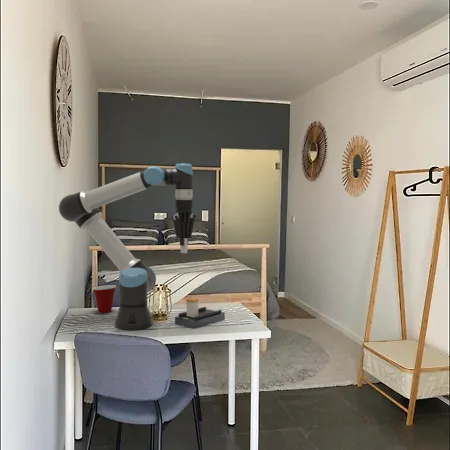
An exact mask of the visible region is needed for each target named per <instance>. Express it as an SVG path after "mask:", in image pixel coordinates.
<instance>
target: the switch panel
mask: <svg viewBox="0 0 450 450" xmlns="http://www.w3.org/2000/svg"><path fill="white" fill-rule="evenodd" d="M225 315H226V312H223V311H222V310H221V309H219V310H214V309H208V308H207V307H206V306H203V307H198V316H196V317H189V316H187V311H183V312H180V313H178V314H177V316H174V325H178V326H180V327H181V326H182V327H184V328H190V329H197V328H201V327H203V326H207V325H210V324H214V323H217V322H220V321H224V320H225Z"/></svg>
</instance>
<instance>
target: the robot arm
mask: <svg viewBox="0 0 450 450" xmlns="http://www.w3.org/2000/svg"><path fill="white" fill-rule="evenodd" d="M193 170H194V169H193V165H192V164H190V163H175V166H174V168H172V167H171V168H167V167H166V168H165V167H159V166H155V165H154V166H153V165H152V166H150V167H147V168H146V169H144V170H142V171H138V172H136V173H134V174H131V175H128V176H125V177H123V178H120V179H118V180H115V181H112V182H110V183H107V184H105V185H101V186H99V187H96V188H94V189H91V190H88V191H83V190H82V191H79V192H76V193H72V194H68V195H66V196H64V197H63V198H62V199H61V200H60V201H59V204H58V212H59V215H60V216H61V217H62V218H63V219H64V220H65V221H67V222H74V223H75V224H76V225H77V227H79V229H80V230H85V231H86V232H87V233H88V235H90V236H91V238H92V239H93V240H94V241H95V242H96V243H97V245H98V246H99V247H100V248H101V250H102V251H103V252H104V253H105V255H106V256H107V257H108V258H109V259H110V261H111V262H112V263H113V264H114V266H116V267H117V269H118V270H119V272H120V273H119V274H118V286H119V287H118V295H119V296H118V301H119V302H118V303H119V305H118V307H119V308H118V311H117V314H116V317H115V320H114V327H115V328H117V329H119V330H126V331H135V330H143V329H147V328H149V327H151V326H152V325H153V324H152V321H153V320H152V317H151V313H150V310H149V307H148V293H149V292H151V291H152V290H153V289H154V287H155V286H156V282H157V275H156V273H155V271H154V270H153V269H152V268H151V267H149V266H147V265H146V264H145V263H144V262H143V260H141V259H140V258H139V259H138V258H136V257H135V256H134V255H133V253H131V251H130V250H129V249H128V248H127V246H125V244H124V243H123V242H122V241H121V239H120V238H119V237H118V235H117V234H116V233H115V232H114V231H113V230H112V228H110V226H109V225H108V223H107V222H106V221H105V220H104V219H103V218H102V217H103V215H102V214H103V212H102V211H101V210H100V209H99V207H102V206H105V205H108V204H111V203H113V202H116V201H118V200H121V199H123V198H126V197H129V196H131V195H135V194H137V193H140V192H142V191H145V190H148V189H150V188H153V187H158V186H162V187H163V186H168V187H169V186H173V187H174V186H175V192H174V193H175V199H176V200H175V207H174V208H175V209H176V211H175V214H174V215H171V218H172V221H173V225H174V231H175V237H176V238H178V239H179V246H180V254H187V253H188V245H189V239H190V238H191V237H192V236H193V235H192V234H193V229H194V223H195V219H196V217H197V216H196V214H194V213H193V210H192V209H193V207H194V206H193V204H194V203H193V200H192V199H193V189H194V188H193V187H194V185H193V183H194V181H193V180H194V179H193V178H194V173H193Z"/></svg>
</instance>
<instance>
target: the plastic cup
mask: <svg viewBox="0 0 450 450" xmlns="http://www.w3.org/2000/svg"><path fill="white" fill-rule="evenodd" d="M116 287H117V285H116V284H115V285H113V284H112V285H111V284H110V285H99V286H94V287H92V290H93V292H94V295H95V302H96V306H97V310H98V313H99V312H100V314H107V313H111V312H112V309H113V305H114V304H113V303H114V297H115V296H114V295H115V292H116Z"/></svg>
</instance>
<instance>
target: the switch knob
mask: <svg viewBox="0 0 450 450" xmlns="http://www.w3.org/2000/svg"><path fill="white" fill-rule="evenodd" d="M185 300H186V301H185V302H186V312H187V316H189V317H196V316H198V308H199V302H200V301H199V300H200V299H199V298H195V297H188V298H186V299H185Z"/></svg>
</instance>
